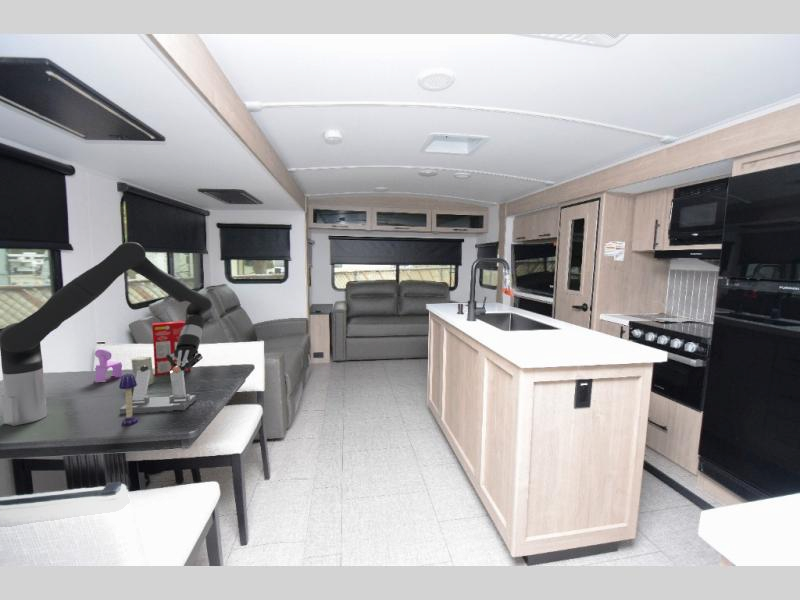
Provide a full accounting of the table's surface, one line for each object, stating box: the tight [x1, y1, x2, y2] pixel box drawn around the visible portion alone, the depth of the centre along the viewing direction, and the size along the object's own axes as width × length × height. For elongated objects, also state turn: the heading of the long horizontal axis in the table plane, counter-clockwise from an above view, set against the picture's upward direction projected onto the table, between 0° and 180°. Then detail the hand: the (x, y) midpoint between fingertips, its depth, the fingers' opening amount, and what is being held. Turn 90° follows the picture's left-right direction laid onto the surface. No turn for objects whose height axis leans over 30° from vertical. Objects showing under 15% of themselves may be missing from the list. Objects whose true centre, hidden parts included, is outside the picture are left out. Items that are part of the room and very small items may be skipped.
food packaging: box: [151, 320, 192, 377], centre depth 170 cm, size 15×5×25 cm, turn 126°
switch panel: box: [119, 393, 197, 415], centre depth 128 cm, size 10×21×4 cm, turn 100°
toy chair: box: [93, 348, 123, 383], centre depth 158 cm, size 8×9×15 cm
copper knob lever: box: [169, 366, 187, 400], centre depth 128 cm, size 3×4×13 cm, turn 100°
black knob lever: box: [132, 366, 151, 402], centre depth 129 cm, size 3×4×13 cm, turn 100°
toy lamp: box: [118, 373, 139, 426], centre depth 114 cm, size 5×5×17 cm
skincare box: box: [131, 356, 154, 386], centre depth 152 cm, size 6×4×12 cm
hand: (178, 377), depth 129 cm, fingers closed
